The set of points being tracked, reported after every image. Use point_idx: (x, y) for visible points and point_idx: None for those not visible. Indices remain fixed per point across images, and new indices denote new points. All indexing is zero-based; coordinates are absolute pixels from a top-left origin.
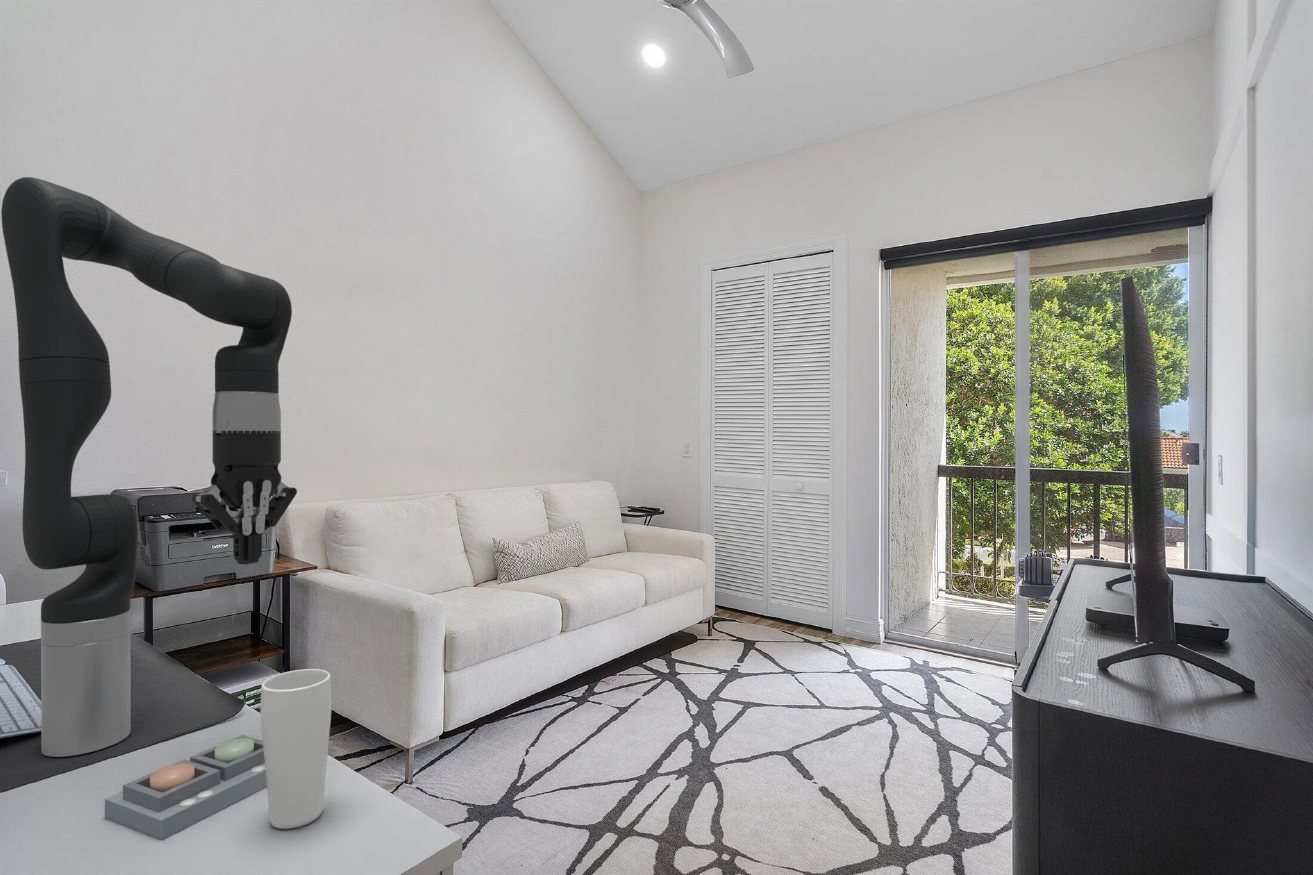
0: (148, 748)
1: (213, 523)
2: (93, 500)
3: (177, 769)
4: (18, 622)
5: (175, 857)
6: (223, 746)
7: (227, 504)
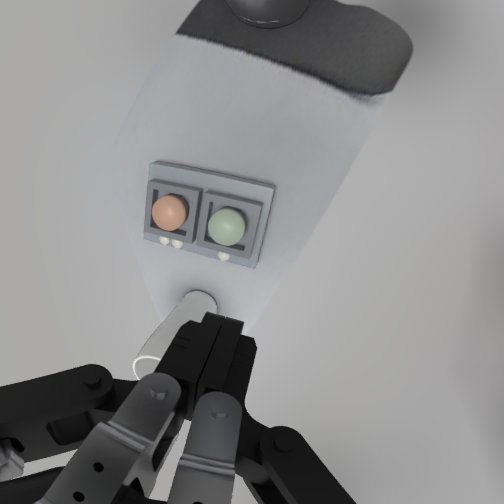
0: (272, 68)
1: (54, 380)
2: None
3: (171, 214)
4: None
5: (142, 258)
6: (221, 218)
7: (59, 471)
